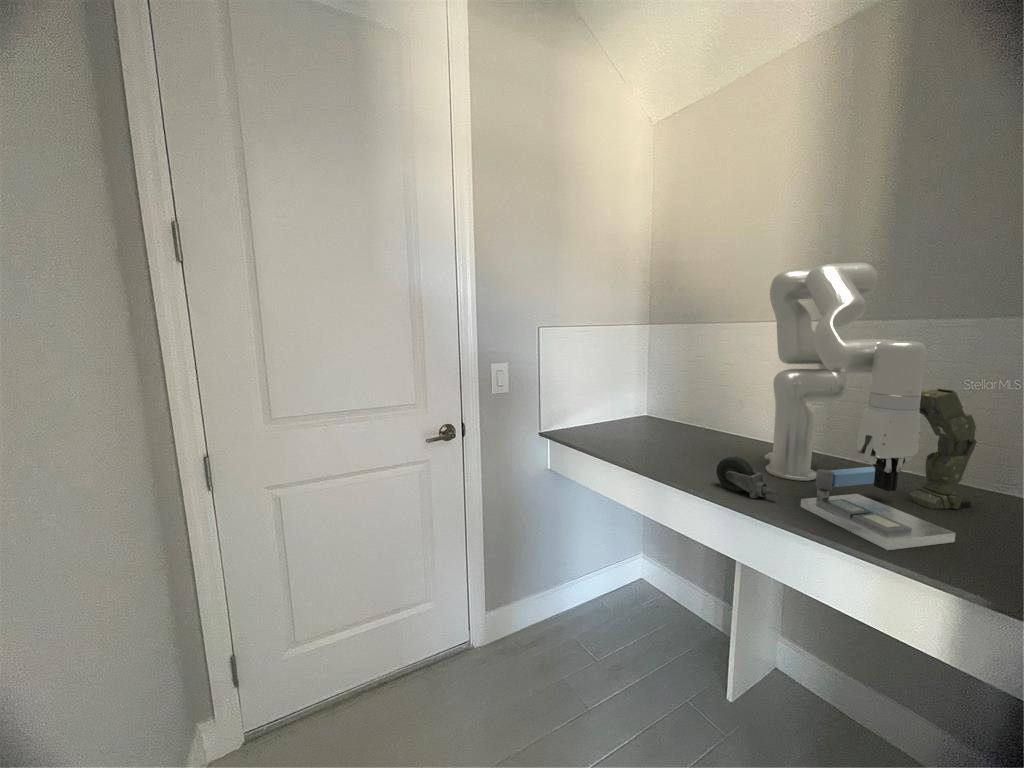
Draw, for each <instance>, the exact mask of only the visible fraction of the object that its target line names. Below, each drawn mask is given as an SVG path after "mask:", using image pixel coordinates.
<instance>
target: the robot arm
mask: <svg viewBox="0 0 1024 768" xmlns="http://www.w3.org/2000/svg"><path fill="white" fill-rule="evenodd" d="M878 278H879V277H878V273H877V270H876V269H875V268H874V267H873V266H872V265H871V264H869V263H866V262H843V263H842V262H840V263H839V262H838V263H827V264H826V263H824V264H822V265H818V266H816V267H814V268H796V269H789V270H785V271H782V272H780V273H778V274H777V275H775V276H774V278H773V279H772V281H771V283H770V289H769V301H770V304H771V308H772V310H773V311H772V312H773V313H774V316H775V320H776V341H777V354H778V358H779V360H780V362H782V363H783V364H787V365H817V366H818V368H789V369H785V370H781V371H779V372H778V373H777V374H775V376H774V379H773V381H772V383H773V394H774V401H775V408H774V409H775V417H774V428H773V429H774V430H773V431H774V432H773V443H772V445H773V447H772V451H770V452H768V453H767V454H765V455H764V458H765V459H767V460H768V461H769V463H768V464H766V465H765V471H766V472H767V473H768V474H770V475H772V476H775V477H778V478H782V479H785V480H792V481H800V482H802V481H803V482H804V481H806V482H807V481H808V482H809V481H812V480H816V473H817V471H815V470H813V469H811V466H812V453H813V441H814V433H815V432H814V431H815V430H814V429H815V427H814V426H815V416H814V413H813V411H812V410H811V409H810V407H809V406H808V405H807V403H809V402H811V403H812V402H821V403H822V402H824V403H827V402H837V401H840V400H841V399H843V398H844V397H845V396H846V392H847V389H848V374H851V375H853V374H856V375H857V374H866V375H867V374H869V375H870V378H871V379H870V389H869V399H868V407H866V408H865V410H864V412H863V415H862V417H861V418H862V419H861V421H860V424H859V430H858V436H857V444H856V451H857V452H858V453H860V454H863V458H862V461H863V462H865V463H868V464H871V466H872V467H873V468H874V469H875V477H874V483H873V486H874V487H875V488H877V489H880V490H883V491H886V492H896V491H897V488H898V477H899V472H901V471H902V468H903V465H904V464H905V463H907V462H909V461H910V462H911V460H913V458H914V456H916V455H917V454H918V453H919V448H920V442H921V413H920V412H919V409H920V400H921V392H922V390H923V383H924V372H925V365H926V364H925V363H926V356H927V349H926V345H925V344H924V343H923V342H919V341H912V340H911V341H908V340H907V341H906V340H905V341H904V340H903V341H901V340H894V339H888V338H876V339H875V338H873V339H871V338H865V339H863V338H862V339H861V338H859V339H858V338H857V339H856V338H855V339H843V338H842V337H841V336H840V335H839V333H838V331H837V329H839V328H842V327H844V326H846V325H847V326H848V325H849V324H851V323H853V322H854V321H856V320H858V319H860V318H861V317H862V316H863V315H864V313H865V312H866V309H867V306H868V305H867V302H866V300H865V298H864V297H865V296H867V295H869V294H870V293H872V292H873V290H875V289H876V287H877V284H878ZM799 300H813V302H814V304H815V306H816V308H817V310H818V311H819V314H820V315H821V318H820V319H819V321H818V322H817V325H816V327H815V329H814V330H813V325H812V322H813V321H812V320H813V319H812V315H811V313H810V311H809V310H808V309H807V308H806V307H805V306H804V305H803V304H802V302H800V301H799Z"/></svg>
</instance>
